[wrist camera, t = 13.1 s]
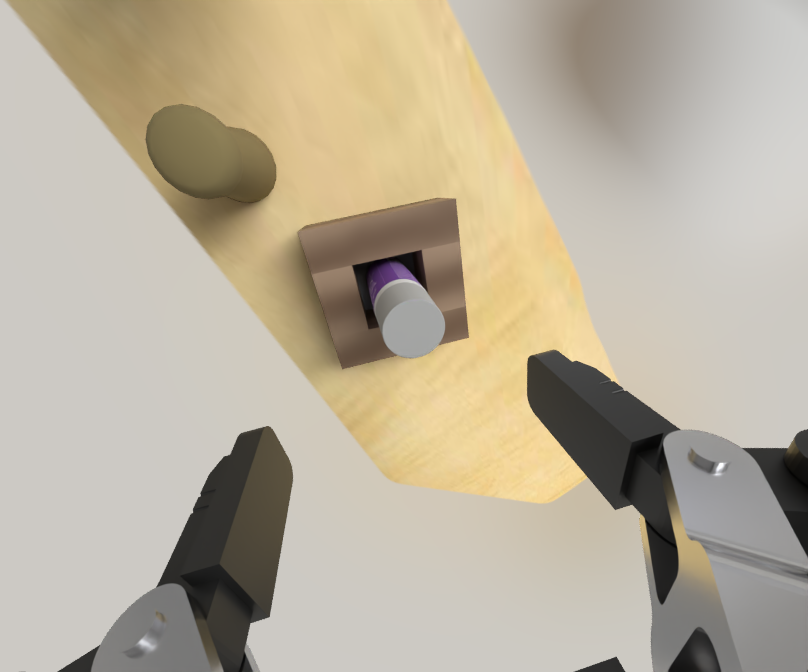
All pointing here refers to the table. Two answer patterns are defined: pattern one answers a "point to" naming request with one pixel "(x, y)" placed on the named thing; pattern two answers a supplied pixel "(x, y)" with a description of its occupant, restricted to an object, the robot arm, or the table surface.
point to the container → (403, 309)
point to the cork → (209, 155)
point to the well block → (376, 239)
